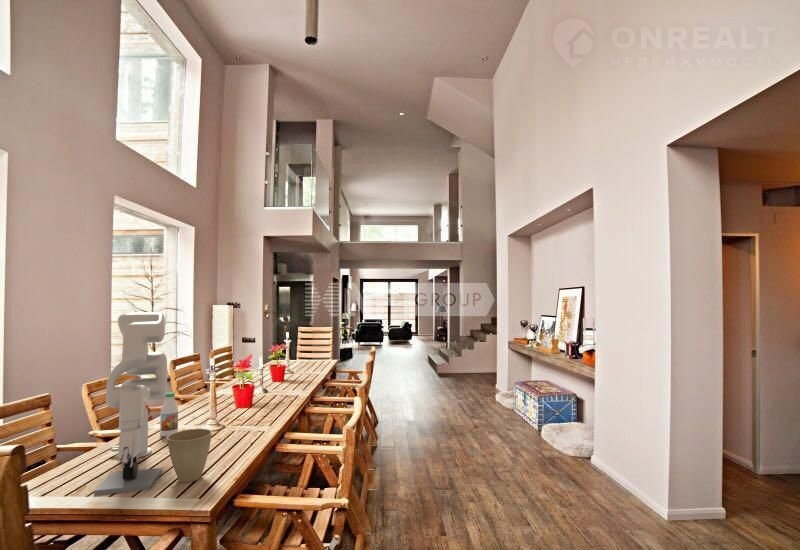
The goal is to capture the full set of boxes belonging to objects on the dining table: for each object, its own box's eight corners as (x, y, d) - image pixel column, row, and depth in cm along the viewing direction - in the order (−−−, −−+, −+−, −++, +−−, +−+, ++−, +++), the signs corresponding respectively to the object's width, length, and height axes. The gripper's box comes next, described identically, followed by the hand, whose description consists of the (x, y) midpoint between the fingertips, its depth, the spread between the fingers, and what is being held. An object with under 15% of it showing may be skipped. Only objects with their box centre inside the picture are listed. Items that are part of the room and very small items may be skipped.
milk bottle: (156, 436, 224) (156, 393, 225) (169, 431, 231) (170, 390, 232) (168, 437, 221) (168, 395, 222) (181, 433, 228) (181, 391, 229)
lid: (94, 495, 156) (94, 475, 157) (111, 476, 173) (112, 458, 173) (149, 489, 161) (150, 470, 161) (162, 471, 177) (162, 454, 177)
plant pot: (190, 469, 180) (190, 427, 180) (220, 474, 174) (220, 430, 175) (156, 483, 166) (157, 437, 167) (188, 489, 160) (188, 442, 161)
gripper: (127, 419, 175) (126, 469, 174) (111, 431, 159) (109, 486, 158) (149, 418, 177) (148, 467, 176) (135, 429, 161) (134, 483, 160)
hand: (130, 475), depth 167 cm, fingers closed on lid, 4 cm apart
